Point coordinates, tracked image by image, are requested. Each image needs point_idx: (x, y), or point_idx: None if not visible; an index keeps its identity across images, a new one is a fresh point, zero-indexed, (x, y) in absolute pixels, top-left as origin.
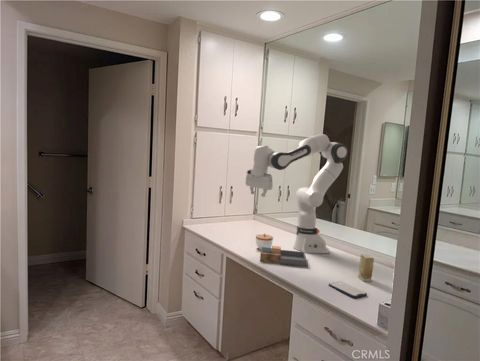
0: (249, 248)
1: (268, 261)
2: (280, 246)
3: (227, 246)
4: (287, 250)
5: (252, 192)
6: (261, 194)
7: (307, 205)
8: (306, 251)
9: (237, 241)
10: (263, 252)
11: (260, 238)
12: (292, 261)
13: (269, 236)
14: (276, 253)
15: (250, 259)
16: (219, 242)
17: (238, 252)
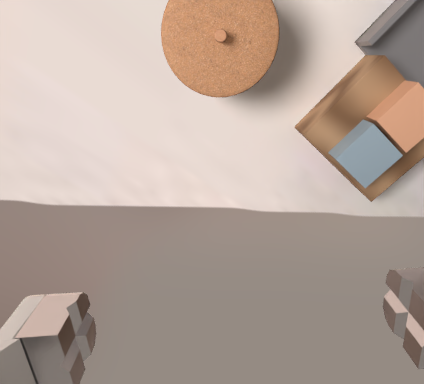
0: (186, 114)
1: None
2: (417, 83)
3: (120, 193)
4: (402, 6)
5: (84, 367)
6: (404, 348)
7: None
8: None
9: (48, 93)
10: (371, 183)
11: (241, 92)
12: None
13: (239, 2)
14: None
15: (317, 208)
16: (47, 191)
17: (218, 199)
